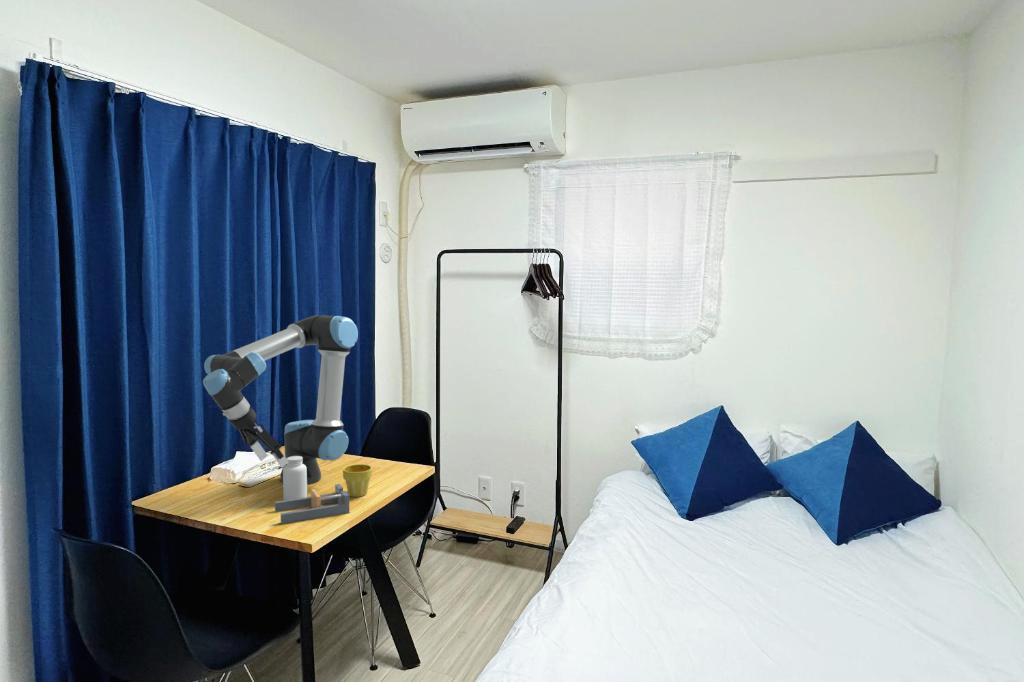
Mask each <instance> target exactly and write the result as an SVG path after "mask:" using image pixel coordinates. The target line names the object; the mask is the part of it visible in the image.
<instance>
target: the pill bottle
mask: <svg viewBox="0 0 1024 682" xmlns="http://www.w3.org/2000/svg"><path fill="white" fill-rule="evenodd" d="M287 460H288V461H289V462H288V463H287V465H286V466H285V467H284V468H283V484H282V494H283V495H282V498H283V501H284V500H291V499H297V498H304V497H308V484H307V468H306V466H305V465H304V464H302V463H303V462H302V461H303V458H302V457H301V456H291V457H288V458H287Z"/></svg>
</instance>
